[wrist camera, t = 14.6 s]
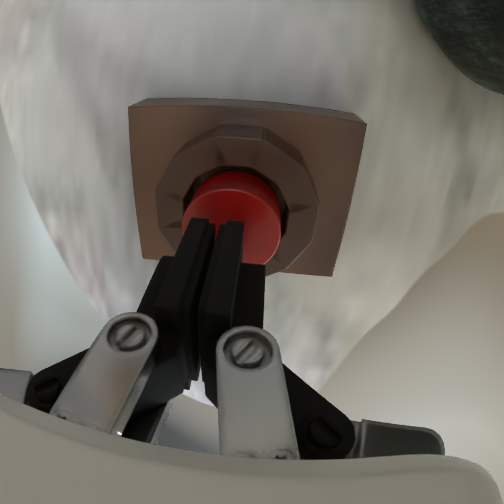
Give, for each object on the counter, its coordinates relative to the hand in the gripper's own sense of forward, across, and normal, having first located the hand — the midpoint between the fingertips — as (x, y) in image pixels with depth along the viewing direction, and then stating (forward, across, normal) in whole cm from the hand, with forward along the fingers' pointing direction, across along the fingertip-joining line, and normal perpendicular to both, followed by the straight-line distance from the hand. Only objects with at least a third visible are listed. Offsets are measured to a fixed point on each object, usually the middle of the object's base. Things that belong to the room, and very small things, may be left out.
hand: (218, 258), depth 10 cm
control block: (+7, 0, 0) cm, 7 cm away
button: (+3, 0, 0) cm, 3 cm away
